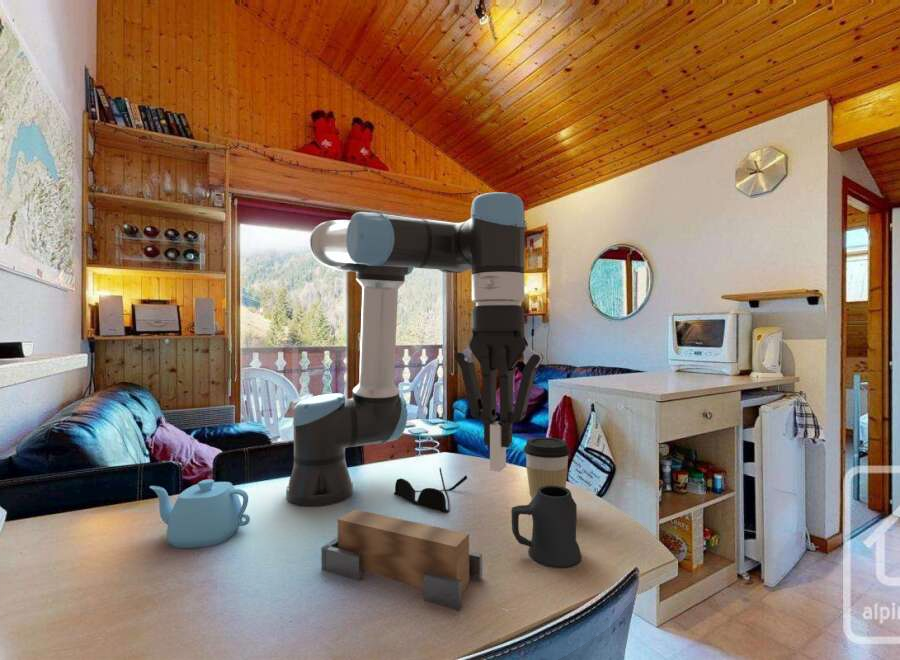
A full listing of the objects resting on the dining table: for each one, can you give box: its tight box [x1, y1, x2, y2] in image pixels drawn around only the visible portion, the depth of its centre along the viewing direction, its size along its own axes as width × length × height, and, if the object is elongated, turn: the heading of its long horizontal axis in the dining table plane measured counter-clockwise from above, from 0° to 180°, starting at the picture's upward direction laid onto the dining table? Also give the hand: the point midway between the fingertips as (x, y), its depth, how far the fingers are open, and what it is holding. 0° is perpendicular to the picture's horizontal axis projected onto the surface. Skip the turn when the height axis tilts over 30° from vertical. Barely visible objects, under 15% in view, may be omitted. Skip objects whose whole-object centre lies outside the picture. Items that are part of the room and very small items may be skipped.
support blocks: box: [423, 550, 483, 612], centre depth 67 cm, size 6×9×4 cm, turn 155°
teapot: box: [149, 478, 251, 549], centre depth 85 cm, size 13×11×18 cm
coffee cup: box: [523, 436, 571, 502], centre depth 95 cm, size 10×10×15 cm
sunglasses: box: [393, 467, 468, 514], centre depth 104 cm, size 17×14×5 cm
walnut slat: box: [337, 509, 470, 593], centre depth 71 cm, size 22×4×8 cm, turn 64°
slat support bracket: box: [320, 536, 364, 582], centre depth 74 cm, size 8×9×4 cm
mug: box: [510, 485, 582, 569], centre depth 77 cm, size 12×9×11 cm
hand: (498, 468), depth 64 cm, fingers closed
